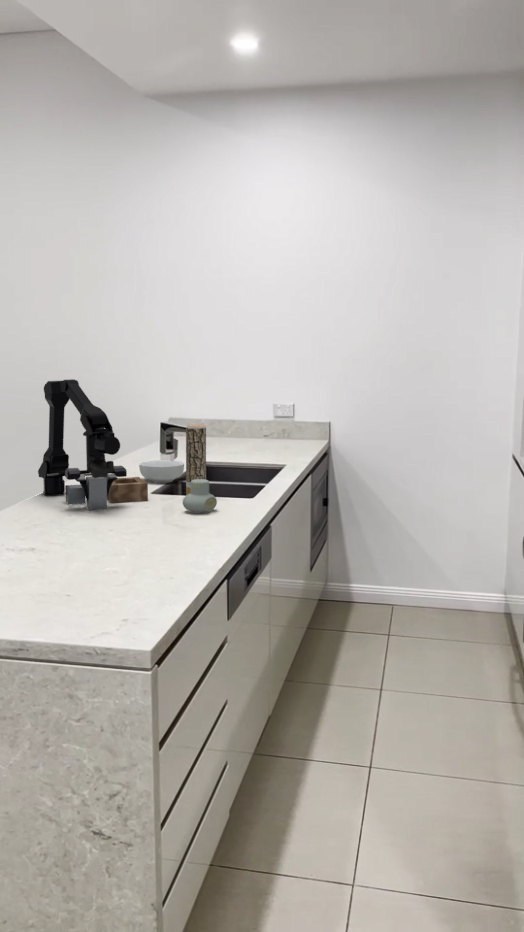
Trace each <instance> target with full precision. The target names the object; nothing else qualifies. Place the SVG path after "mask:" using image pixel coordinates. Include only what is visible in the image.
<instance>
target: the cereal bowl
mask: <svg viewBox="0 0 524 932" xmlns="http://www.w3.org/2000/svg"><path fill="white" fill-rule="evenodd" d="M138 467H139V472H140V475H141V476H142V477H143V478H144V479H147V480H149V481H151V482H152V483H155V482H157V483H156V484H165V483H172V482H173V481H174V480H176V479H178V478H180V477H181V476H182V475H183V474H184V471H185V462H183V461H180V460H171V459H170V460H169V459H167V460H166V459H162V460H160V459H159V460H156V459H155V460H147V461H142V462H140V463H139V464H138Z"/></svg>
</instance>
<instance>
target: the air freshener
mask: <svg viewBox="0 0 524 932" xmlns="http://www.w3.org/2000/svg"><path fill="white" fill-rule="evenodd" d="M217 504H218V500H217V498H216V497H215V496H214V495H213V494H211V493H210V481H209V480H208V479H206V480H205V479H195V480H192V481H191V493H190V494H188V495H185V496H184V497H183V499H182V505H183V507H184V509H185V510H187V511H188V512H190V513H195V514H208V513H210V512H211V511H212V510H214V509H215V508H216V506H217Z"/></svg>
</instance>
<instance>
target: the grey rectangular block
mask: <svg viewBox="0 0 524 932" xmlns="http://www.w3.org/2000/svg"><path fill="white" fill-rule="evenodd" d="M85 479H86V480H87V490H88V500H87V499H86V498H85V504H86V508H87V510H88V511H91V512H92V511H103V510H105V511H106V510H108V500H107V479H106V478H105V477H98V478H93V477H92V476H85Z"/></svg>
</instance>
